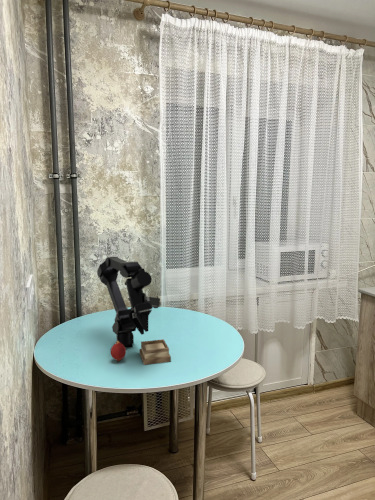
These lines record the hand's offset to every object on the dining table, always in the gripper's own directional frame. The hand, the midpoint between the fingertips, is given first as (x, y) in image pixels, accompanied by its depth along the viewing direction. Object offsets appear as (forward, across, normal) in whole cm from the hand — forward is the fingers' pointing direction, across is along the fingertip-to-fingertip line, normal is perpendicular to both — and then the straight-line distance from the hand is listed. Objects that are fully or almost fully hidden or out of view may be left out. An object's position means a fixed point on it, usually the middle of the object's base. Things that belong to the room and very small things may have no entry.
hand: (144, 332), depth 141 cm
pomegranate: (+7, +9, +10) cm, 16 cm away
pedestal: (+10, +8, -3) cm, 13 cm away
